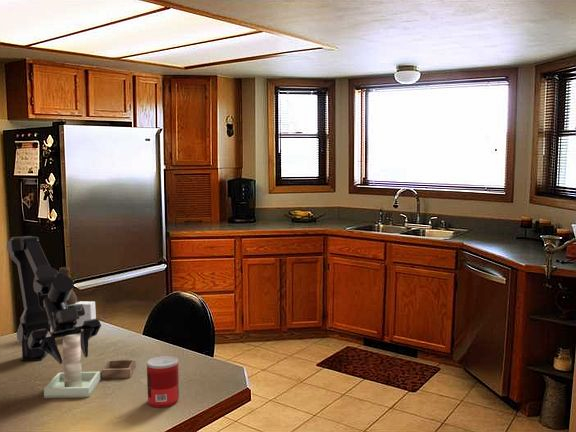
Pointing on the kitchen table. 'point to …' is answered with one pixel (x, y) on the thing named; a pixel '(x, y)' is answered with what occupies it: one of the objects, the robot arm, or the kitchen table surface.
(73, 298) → the beer bottle
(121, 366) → the brown square open box
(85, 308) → the skincare box
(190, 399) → the kitchen table surface
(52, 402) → the kitchen table surface
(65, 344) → the peg
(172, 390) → the canned food
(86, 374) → the tray
